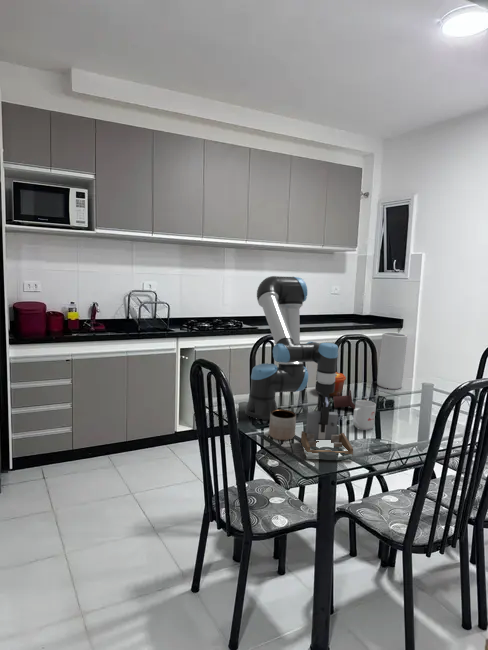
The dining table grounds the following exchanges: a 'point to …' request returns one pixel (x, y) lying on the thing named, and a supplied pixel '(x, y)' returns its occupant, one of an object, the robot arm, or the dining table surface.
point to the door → (313, 420)
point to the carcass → (338, 441)
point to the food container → (338, 384)
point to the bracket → (344, 401)
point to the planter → (282, 424)
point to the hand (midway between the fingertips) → (320, 437)
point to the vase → (392, 360)
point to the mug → (364, 414)
